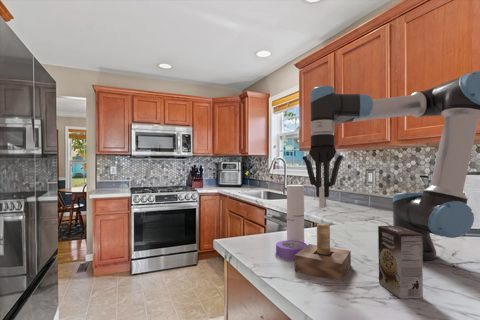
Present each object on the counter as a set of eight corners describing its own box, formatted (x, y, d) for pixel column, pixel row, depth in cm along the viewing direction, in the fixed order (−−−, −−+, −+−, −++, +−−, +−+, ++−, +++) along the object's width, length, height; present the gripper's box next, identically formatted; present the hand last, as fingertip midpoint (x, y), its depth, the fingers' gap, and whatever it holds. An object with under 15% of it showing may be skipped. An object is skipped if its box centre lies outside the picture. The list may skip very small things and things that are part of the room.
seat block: (350, 266, 86) (350, 250, 86) (341, 281, 74) (341, 263, 74) (309, 258, 94) (309, 244, 94) (294, 271, 82) (294, 254, 82)
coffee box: (377, 283, 73) (376, 225, 74) (399, 282, 74) (398, 225, 74) (400, 299, 64) (399, 233, 65) (424, 298, 65) (423, 233, 65)
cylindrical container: (304, 247, 106) (304, 186, 106) (286, 246, 107) (286, 185, 108) (303, 242, 113) (303, 184, 113) (287, 241, 114) (287, 184, 115)
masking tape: (273, 257, 95) (273, 247, 95) (279, 248, 106) (279, 238, 106) (306, 261, 91) (306, 250, 91) (309, 251, 102) (308, 241, 102)
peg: (331, 267, 84) (331, 224, 85) (328, 272, 81) (328, 226, 81) (319, 265, 87) (318, 223, 87) (315, 269, 83) (315, 225, 84)
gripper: (299, 134, 86) (299, 206, 85) (340, 132, 78) (341, 210, 78) (306, 137, 92) (306, 204, 91) (345, 134, 85) (346, 207, 84)
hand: (322, 207), depth 84 cm, fingers closed
